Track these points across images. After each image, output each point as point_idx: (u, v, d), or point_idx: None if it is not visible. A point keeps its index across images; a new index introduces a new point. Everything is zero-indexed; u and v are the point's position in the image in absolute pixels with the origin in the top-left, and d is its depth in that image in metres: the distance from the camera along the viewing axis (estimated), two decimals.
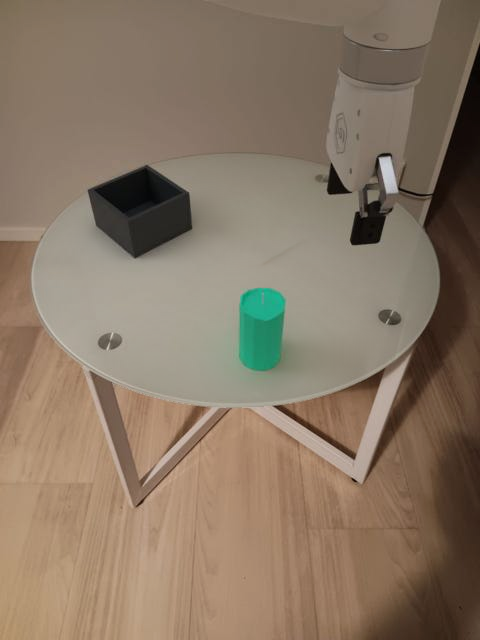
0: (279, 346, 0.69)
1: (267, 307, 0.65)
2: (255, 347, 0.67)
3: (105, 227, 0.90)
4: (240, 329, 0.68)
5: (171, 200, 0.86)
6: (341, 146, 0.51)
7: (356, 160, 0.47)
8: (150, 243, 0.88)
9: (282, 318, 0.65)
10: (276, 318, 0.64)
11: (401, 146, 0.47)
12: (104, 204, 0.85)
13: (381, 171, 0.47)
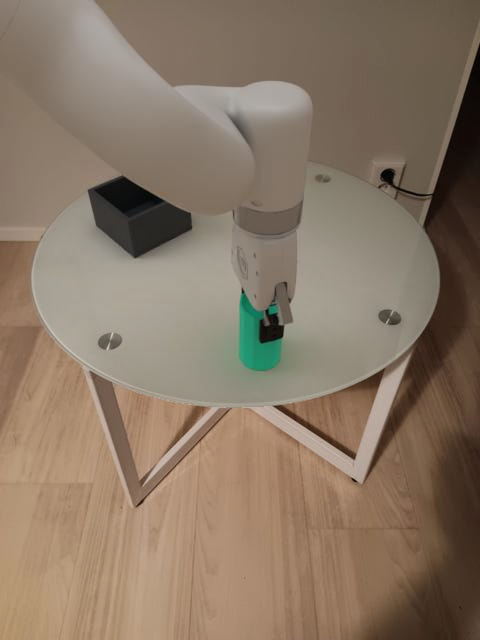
0: (279, 346, 0.69)
1: None
2: (255, 346, 0.67)
3: (105, 227, 0.90)
4: (240, 329, 0.68)
5: None
6: (244, 272, 0.59)
7: (258, 290, 0.56)
8: (150, 243, 0.88)
9: None
10: None
11: (293, 275, 0.56)
12: (104, 204, 0.85)
13: (278, 301, 0.57)
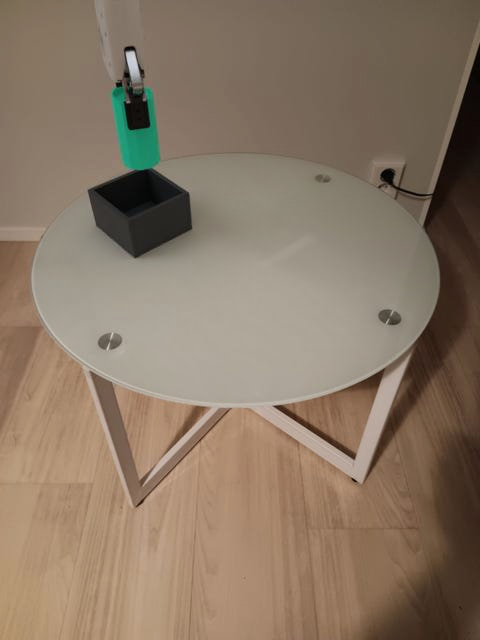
0: (153, 144, 0.77)
1: None
2: (128, 139, 0.75)
3: (105, 227, 0.90)
4: (116, 125, 0.75)
5: (171, 200, 0.86)
6: (104, 49, 0.67)
7: (109, 53, 0.64)
8: (150, 243, 0.88)
9: (149, 108, 0.73)
10: None
11: (140, 40, 0.64)
12: (104, 204, 0.85)
13: (128, 65, 0.64)
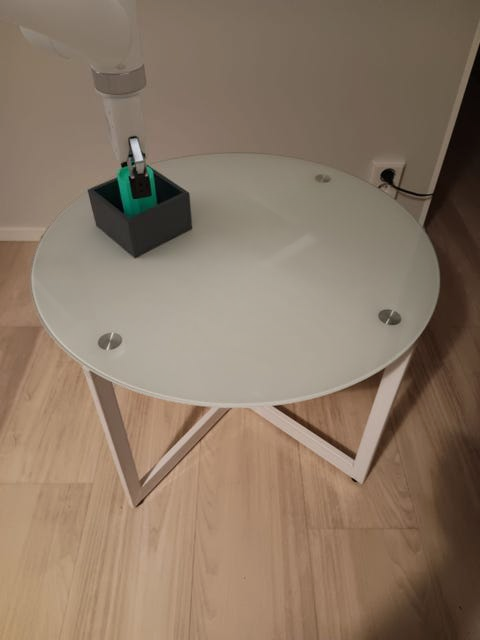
0: None
1: None
2: (132, 211, 0.87)
3: (105, 227, 0.90)
4: None
5: (171, 200, 0.86)
6: None
7: (116, 142, 0.76)
8: (150, 243, 0.88)
9: None
10: None
11: (142, 131, 0.76)
12: (104, 204, 0.85)
13: (131, 147, 0.75)
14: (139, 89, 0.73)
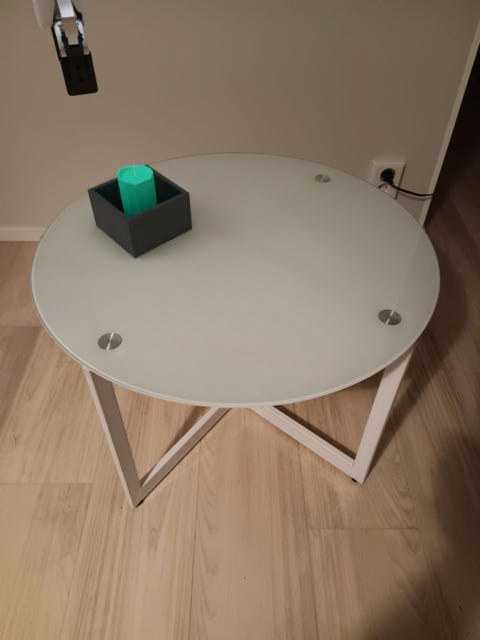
0: None
1: (139, 177, 0.85)
2: (132, 211, 0.87)
3: (105, 227, 0.90)
4: None
5: (171, 200, 0.86)
6: None
7: None
8: (150, 243, 0.88)
9: (150, 186, 0.85)
10: (143, 183, 0.84)
11: None
12: (104, 204, 0.85)
13: None
14: None
